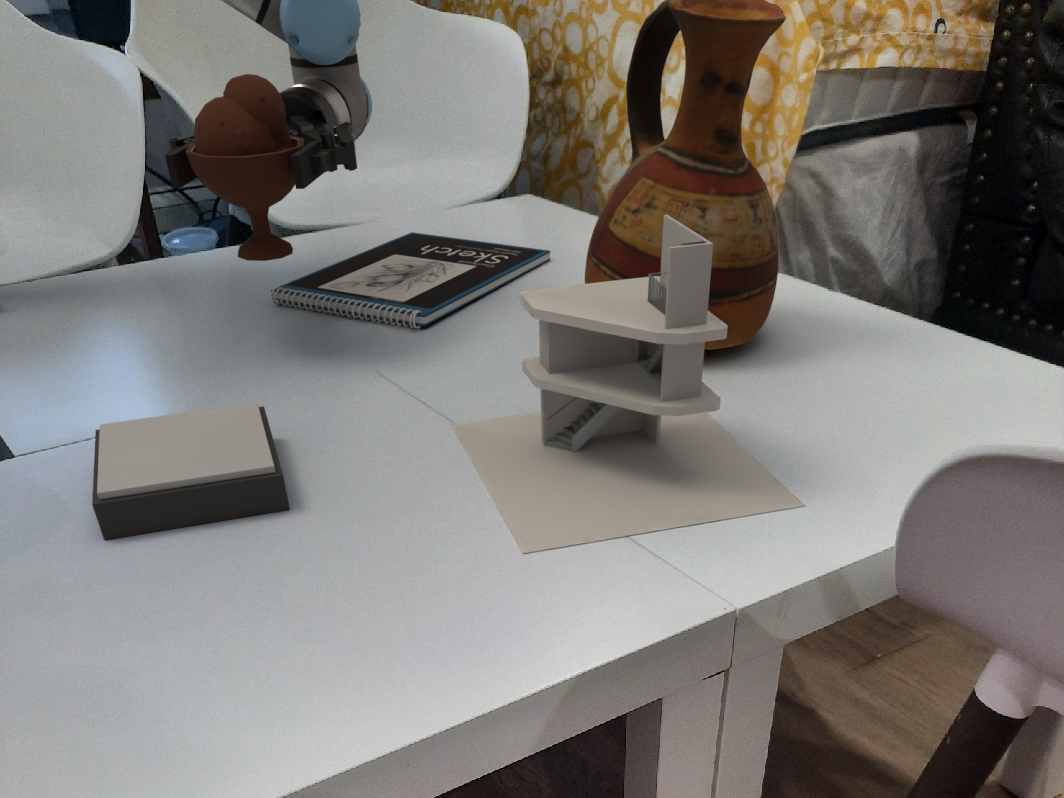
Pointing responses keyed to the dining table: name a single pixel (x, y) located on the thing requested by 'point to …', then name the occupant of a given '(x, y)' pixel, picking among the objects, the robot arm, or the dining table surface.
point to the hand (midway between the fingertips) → (234, 172)
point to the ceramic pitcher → (696, 162)
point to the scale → (185, 470)
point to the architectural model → (621, 414)
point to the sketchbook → (410, 278)
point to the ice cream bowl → (247, 157)
